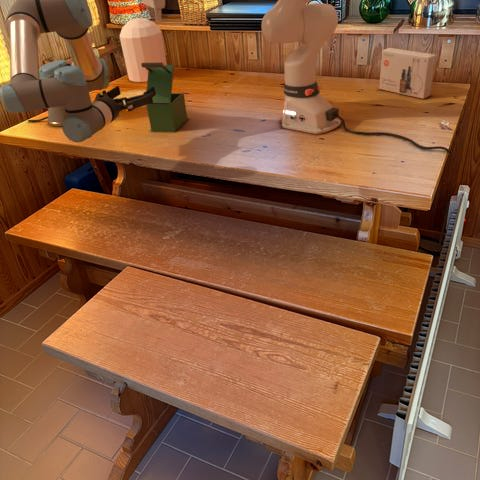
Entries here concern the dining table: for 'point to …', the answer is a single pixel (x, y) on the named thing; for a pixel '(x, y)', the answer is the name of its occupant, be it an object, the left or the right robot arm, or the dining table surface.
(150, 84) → the lid
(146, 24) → the container
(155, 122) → the chest
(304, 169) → the dining table surface
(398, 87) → the skincare box
